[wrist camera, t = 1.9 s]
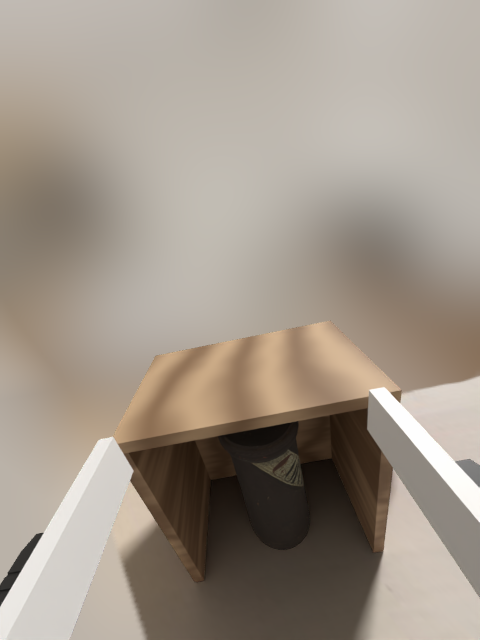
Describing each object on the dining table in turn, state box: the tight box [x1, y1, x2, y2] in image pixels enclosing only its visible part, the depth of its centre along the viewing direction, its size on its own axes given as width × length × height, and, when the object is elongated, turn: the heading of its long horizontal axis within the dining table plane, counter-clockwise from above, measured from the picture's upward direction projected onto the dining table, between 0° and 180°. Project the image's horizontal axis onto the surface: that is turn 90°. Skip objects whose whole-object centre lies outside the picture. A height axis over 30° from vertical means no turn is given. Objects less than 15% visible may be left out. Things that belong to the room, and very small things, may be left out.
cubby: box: [113, 321, 401, 582], centre depth 29 cm, size 23×13×25 cm, turn 93°
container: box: [218, 421, 310, 550], centre depth 29 cm, size 9×9×20 cm
